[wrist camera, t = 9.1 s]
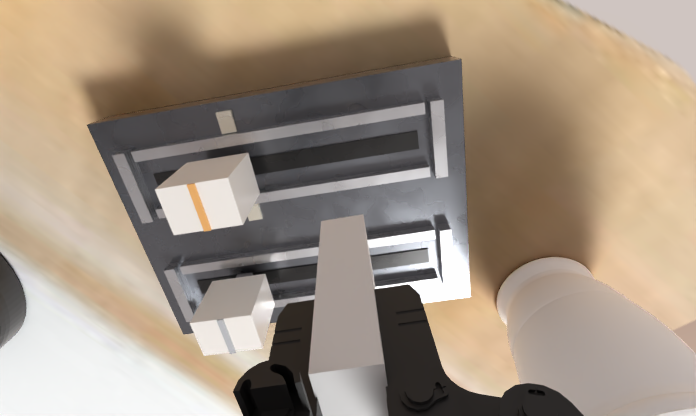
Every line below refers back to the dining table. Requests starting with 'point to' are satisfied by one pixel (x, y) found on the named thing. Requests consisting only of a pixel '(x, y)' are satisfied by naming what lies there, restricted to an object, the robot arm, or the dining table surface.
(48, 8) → the dining table surface
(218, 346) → the fader
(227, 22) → the dining table surface
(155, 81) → the dining table surface
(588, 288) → the jar
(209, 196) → the fader
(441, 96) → the dark grey slotted tray
